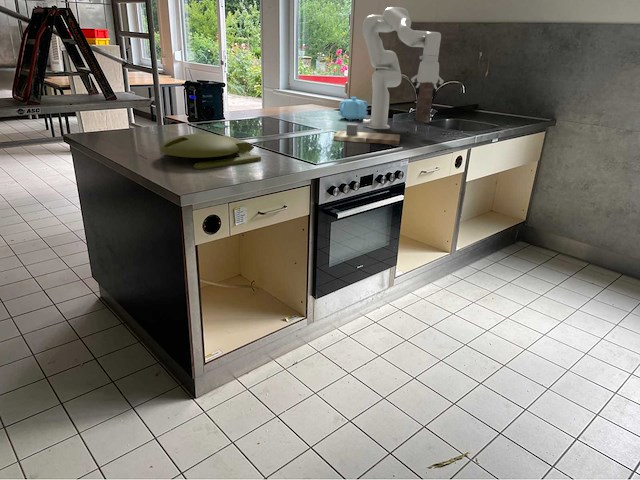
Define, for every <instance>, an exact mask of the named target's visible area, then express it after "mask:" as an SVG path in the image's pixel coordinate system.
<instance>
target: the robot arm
mask: <svg viewBox="0 0 640 480" xmlns="http://www.w3.org/2000/svg"><path fill="white" fill-rule="evenodd" d="M411 26H412V20H411V18H410V13H409V12H408V10H407V9H406V8H404V7H396V6H390V7H387V8H385V9H384V11H383V12H382V14H370V15H367V16H366V17H365V18H364V20H363V24H362V35H363V36H362V37H363V38H364V41H365V43H366V47H367V48H366V49H367V52H368V57H369V61H370V65H371V66H372V67H373V68H374V69H377V70H375V71H374V72H373V73H372V75H371V86H372V95H371V96H372V97H371V98H372V99H371V111H370V112H371V114H370V119H362V123H363V124H367V128H368V129H374V130H389V129H390V125H389V124H388V119H389V107H390V92H389V90H388V88H396V87H398V86H400V85H401V83H402V71H401V68H400V63H399V58H398V55H397V54H396V52H395V51H393V50H388V49H387V50H386V49H385V48H384V46H383V41H382V38H381V37H380V36H379V34H378V33H391V32H393V31H395V32H397V37H398V39H399V41H401V42H402V43H404V44H405V45H406V46H408V47H411V48H423V52H422V55H419V60H421V61H420V62H419V65H418V72H417V74H416V75H414V76H412V77H411V78H410V81H411V83H412V84H413V86H414V87H415V95H416V97H418V93H419V85H420V83H425V82H429V83H431V82H432V84H434V88H433V96H432V98H434V97H435V96H436V95H437V89H438V88H440V87H441V85H443V83H444V81H445V80H444V79H442V78H441V76H440V75H439V73H440V63H439V54H440V47H441V46H440V45H441V40H442V34H441V32H439V31H428V30H417V29H416V30H414V29H412V28H411ZM416 81H417V82H416ZM438 81H439V82H438ZM437 83H438V84H437Z"/></svg>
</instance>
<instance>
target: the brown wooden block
mask: <svg viewBox="0 0 640 480" xmlns="http://www.w3.org/2000/svg"><path fill="white" fill-rule="evenodd" d="M433 89H434V84H432V82H431V83H429V82H425V83H420V85H419V93H418V96H417V101H416V102H417V103H416V110H415V117H414V119H415V121H417V122H424V123H430V118H431V112H432V103H433V102H432V101H433V97H432V96H433Z"/></svg>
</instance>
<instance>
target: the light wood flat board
mask: <svg viewBox="0 0 640 480" xmlns="http://www.w3.org/2000/svg"><path fill="white" fill-rule="evenodd" d="M346 131H347V130H337V132H336V133H335V134H334V135H333V140H334V141H341V142H342V141H343V142H352V143H353V142H355V143H366V144H367V143H370V144H384V145H397V146H398V145H400V141H401V140H400V139H401V134H397V133H396V134H393V133H379V132H378V133H377V132H363V131H357V135H356V136H355V135H346Z"/></svg>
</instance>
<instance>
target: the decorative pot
mask: <svg viewBox="0 0 640 480" xmlns="http://www.w3.org/2000/svg"><path fill="white" fill-rule="evenodd" d="M350 98H351V99H344V100H342V101H340V102H339V104H338V107H339V111H338V112H337V114H338V115H339V116H341V118H343V119H344V118H346V119H345V120H348V121H350V120H351V121H353V120H357V119H359V120H358V121H362V120H364V119H365V118H366V116H367V115H368V113H369V112H368V110H367V108H368V105H369V104H368V102H367V101H366V100H362V99H358V98H357V96H351V97H350Z"/></svg>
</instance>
